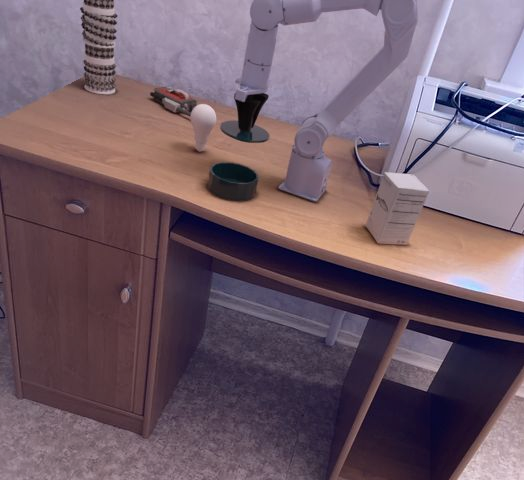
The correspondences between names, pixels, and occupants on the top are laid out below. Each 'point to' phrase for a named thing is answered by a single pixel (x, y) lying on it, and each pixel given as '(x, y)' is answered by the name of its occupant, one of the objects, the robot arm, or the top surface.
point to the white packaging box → (396, 208)
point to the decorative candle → (99, 45)
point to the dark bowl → (232, 181)
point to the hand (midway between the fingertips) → (245, 128)
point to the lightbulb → (202, 124)
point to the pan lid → (244, 132)
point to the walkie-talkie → (174, 99)
